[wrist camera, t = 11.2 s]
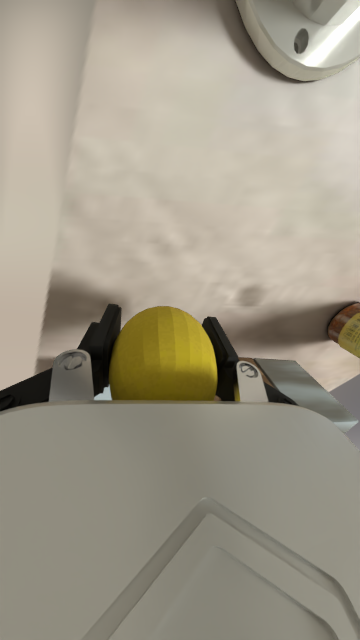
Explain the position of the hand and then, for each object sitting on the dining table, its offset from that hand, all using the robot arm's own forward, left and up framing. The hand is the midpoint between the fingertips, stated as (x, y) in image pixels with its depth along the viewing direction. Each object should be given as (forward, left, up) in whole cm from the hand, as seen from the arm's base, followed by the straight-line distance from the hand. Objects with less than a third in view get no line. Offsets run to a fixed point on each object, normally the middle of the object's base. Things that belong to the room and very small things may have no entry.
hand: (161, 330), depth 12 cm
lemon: (0, 0, -1) cm, 1 cm away
